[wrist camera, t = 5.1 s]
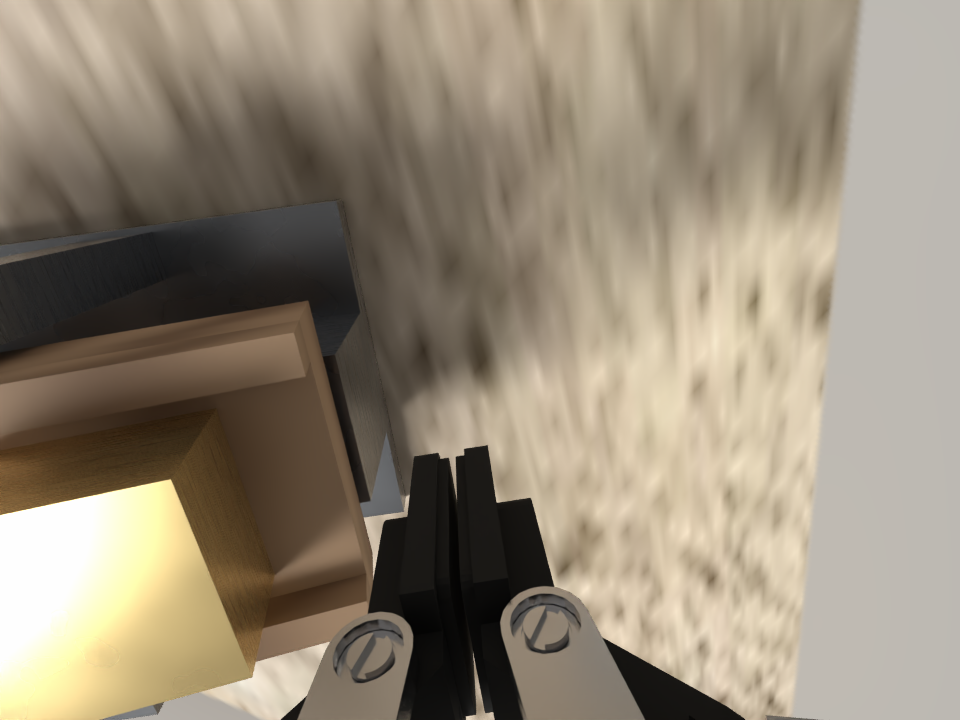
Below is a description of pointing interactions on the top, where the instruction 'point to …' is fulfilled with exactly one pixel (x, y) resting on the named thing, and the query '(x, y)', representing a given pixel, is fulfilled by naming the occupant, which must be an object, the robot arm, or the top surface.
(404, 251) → the top surface
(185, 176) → the top surface
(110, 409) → the beam
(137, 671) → the brass block
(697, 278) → the top surface
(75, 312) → the beam stand
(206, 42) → the top surface
